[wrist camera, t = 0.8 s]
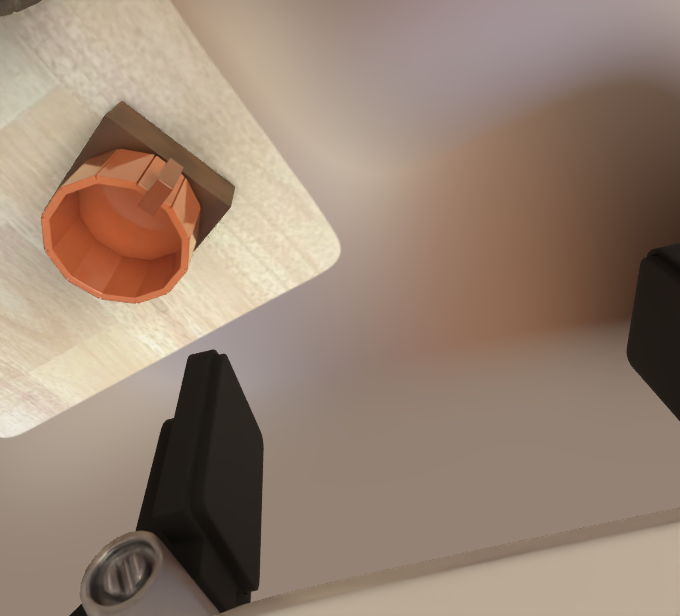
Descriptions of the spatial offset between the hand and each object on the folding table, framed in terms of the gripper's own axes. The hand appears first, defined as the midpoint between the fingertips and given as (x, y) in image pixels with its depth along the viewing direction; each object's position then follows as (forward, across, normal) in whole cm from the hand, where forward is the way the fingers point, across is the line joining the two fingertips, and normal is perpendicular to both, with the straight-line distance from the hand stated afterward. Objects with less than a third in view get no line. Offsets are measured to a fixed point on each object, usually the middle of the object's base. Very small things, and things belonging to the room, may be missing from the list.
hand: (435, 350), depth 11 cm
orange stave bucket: (+35, +17, +6) cm, 39 cm away
